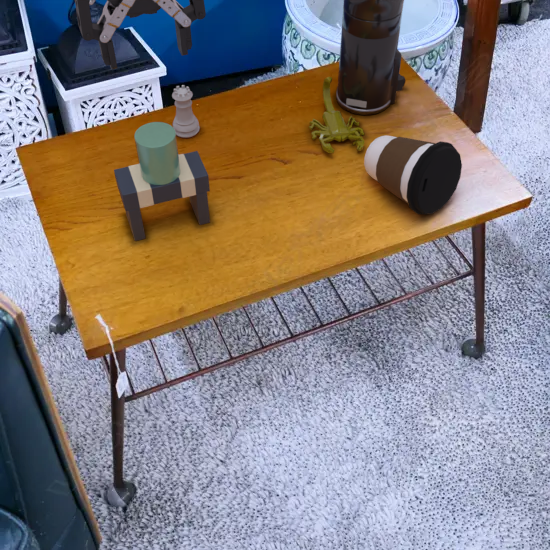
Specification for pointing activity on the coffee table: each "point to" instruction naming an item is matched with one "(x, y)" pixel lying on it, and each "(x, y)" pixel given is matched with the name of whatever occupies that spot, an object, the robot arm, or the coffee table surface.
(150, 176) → the mint green cylinder
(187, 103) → the rook chess piece
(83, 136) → the coffee table surface
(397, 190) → the coffee cup
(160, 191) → the barricade
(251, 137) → the coffee table surface
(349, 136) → the scorpion
